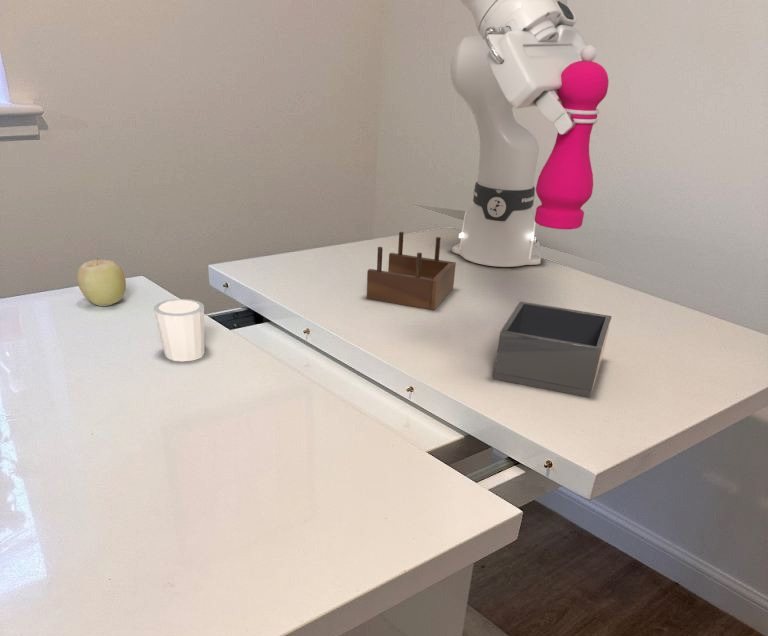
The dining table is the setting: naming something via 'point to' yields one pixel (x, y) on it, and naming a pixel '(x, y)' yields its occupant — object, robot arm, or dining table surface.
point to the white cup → (181, 328)
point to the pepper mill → (572, 146)
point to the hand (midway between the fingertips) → (580, 128)
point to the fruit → (101, 282)
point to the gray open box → (552, 348)
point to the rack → (411, 279)
